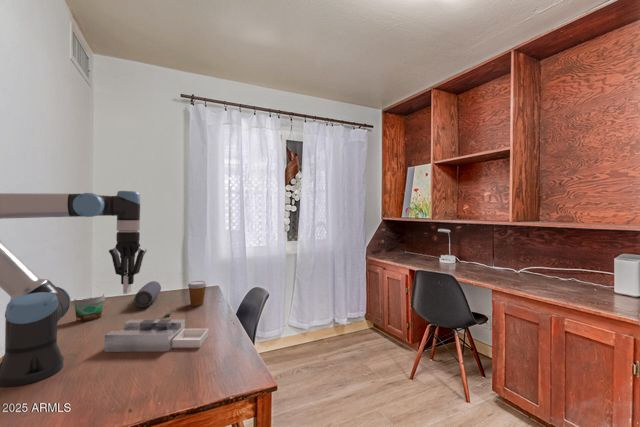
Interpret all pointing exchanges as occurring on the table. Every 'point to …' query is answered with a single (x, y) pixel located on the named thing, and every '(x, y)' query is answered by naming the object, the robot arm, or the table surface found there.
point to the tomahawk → (165, 316)
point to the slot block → (142, 337)
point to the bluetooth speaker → (147, 294)
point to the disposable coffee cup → (197, 292)
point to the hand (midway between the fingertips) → (127, 292)
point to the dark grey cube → (163, 325)
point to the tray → (190, 338)
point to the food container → (88, 309)
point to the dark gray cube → (148, 325)
